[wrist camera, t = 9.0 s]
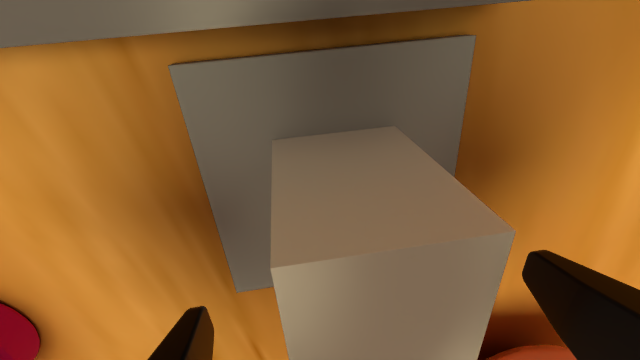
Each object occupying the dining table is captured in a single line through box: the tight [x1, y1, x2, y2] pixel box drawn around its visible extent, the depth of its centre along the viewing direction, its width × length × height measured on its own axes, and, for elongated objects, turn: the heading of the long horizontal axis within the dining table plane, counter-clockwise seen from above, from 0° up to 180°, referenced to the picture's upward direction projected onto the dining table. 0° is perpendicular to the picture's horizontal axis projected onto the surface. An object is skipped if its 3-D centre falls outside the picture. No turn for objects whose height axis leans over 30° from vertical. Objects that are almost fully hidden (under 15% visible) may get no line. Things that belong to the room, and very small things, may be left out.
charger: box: [270, 126, 516, 360], centre depth 10 cm, size 5×5×7 cm
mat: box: [168, 35, 476, 293], centre depth 13 cm, size 11×11×1 cm
